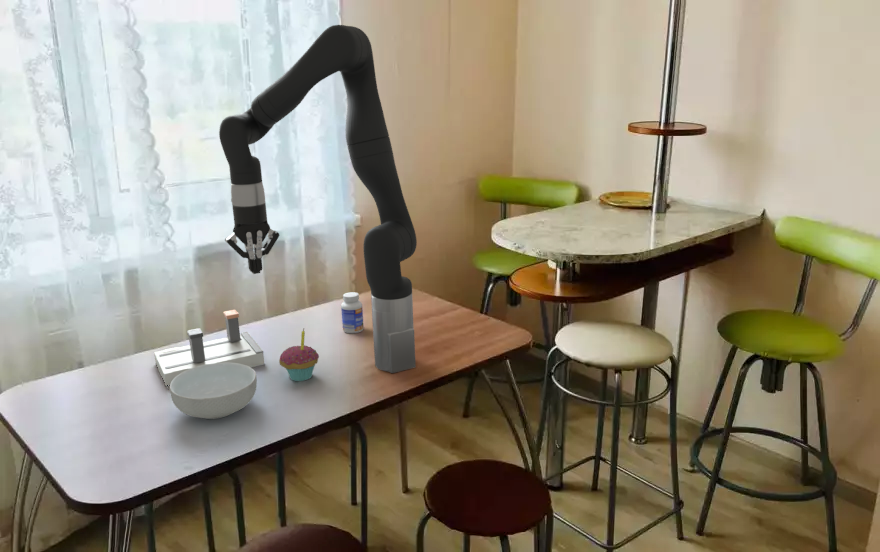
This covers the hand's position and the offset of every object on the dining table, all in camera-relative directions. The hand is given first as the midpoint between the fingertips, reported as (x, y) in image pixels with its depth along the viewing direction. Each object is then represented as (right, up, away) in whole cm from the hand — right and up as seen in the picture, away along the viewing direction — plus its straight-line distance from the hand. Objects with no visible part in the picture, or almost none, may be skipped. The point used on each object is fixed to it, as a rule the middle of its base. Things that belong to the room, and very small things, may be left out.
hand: (256, 272), depth 176 cm
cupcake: (+13, -24, -12) cm, 29 cm away
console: (-10, -21, -4) cm, 24 cm away
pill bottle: (+22, -15, +15) cm, 30 cm away
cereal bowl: (-1, -28, -26) cm, 38 cm away
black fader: (-11, -20, -10) cm, 24 cm away
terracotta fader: (-6, -16, +2) cm, 17 cm away
